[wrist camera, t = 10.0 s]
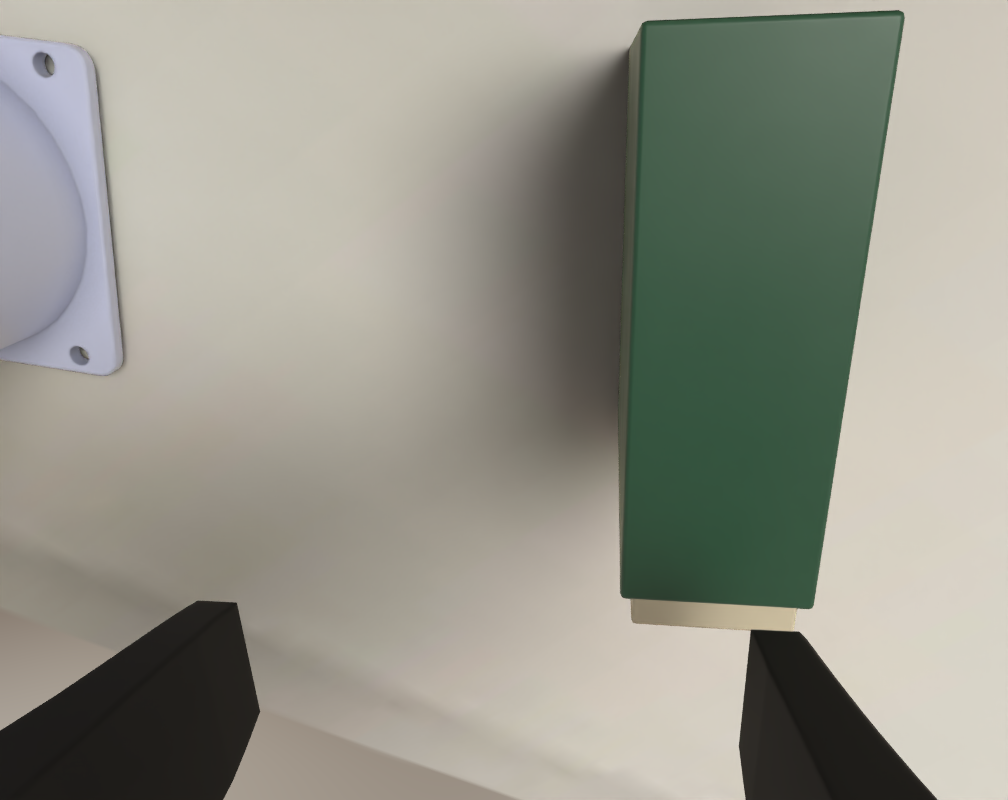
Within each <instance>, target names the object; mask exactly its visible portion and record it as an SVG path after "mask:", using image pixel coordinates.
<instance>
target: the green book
mask: <svg viewBox="0 0 1008 800" xmlns="http://www.w3.org/2000/svg"><path fill="white" fill-rule="evenodd" d="M904 19H905V17H904V13H903V12H901V11H899V10H895V11H871V12H847V13H823V14H799V15H775V16H752V17H728V18H704V19H680V20H656V21H646V22H644V23H642V25H641V27H640V29H639V31H638V33H637V35H636V37H635V39H634V41H633V43H632V45H631V47H630V49H629V72H628V104H627V137H626V170H625V202H624V235H623V267H622V300H621V333H620V365H619V398H618V447H619V528H620V593H621V596H622V597H623V598H627V599H631V619H632V621H633V623H637V624H653V625H669V626H685V627H702V628H718V629H734V630H750V631H751V629H755V630H774V631H793V630H794V625H795V618H796V611H797V608H800V609H811V608H812V607H813V605H814V599H815V593H816V586H817V580H818V573H819V567H820V560H821V554H822V548H823V541H824V535H825V528H826V522H827V515H828V509H829V502H830V496H831V490H832V483H833V477H834V470H835V464H836V457H837V451H838V444H839V438H840V432H841V425H842V419H843V412H844V406H845V399H846V393H847V386H848V380H849V374H850V367H851V361H852V354H853V348H854V341H855V335H856V328H857V322H858V315H859V309H860V303H861V296H862V290H863V283H864V277H865V270H866V264H867V257H868V251H869V245H870V238H871V232H872V225H873V219H874V212H875V206H876V199H877V193H878V187H879V180H880V174H881V167H882V161H883V154H884V148H885V141H886V135H887V129H888V122H889V116H890V109H891V103H892V96H893V90H894V83H895V77H896V71H897V64H898V58H899V51H900V45H901V38H902V32H903V25H904Z"/></svg>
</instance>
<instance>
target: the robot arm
mask: <svg viewBox="0 0 1008 800" xmlns="http://www.w3.org/2000/svg"><path fill="white" fill-rule="evenodd" d="M47 55H49V56H50V57H51V58H52V59H53V62H54V65H55V69H54V73H53V74H52V75H51V74H50V73H49V72H48V71H47V70H46V67H45V57H46V56H47ZM80 347H81V348H83V349H84V350H85V351H86V352H87V354H88V356H89V360H88V359H85V358H84V357H83V356H82V355H81V353H80V350H79V348H80ZM0 360H4V361H11V362H17V363H23V364H30V365H36V366H42V367H49V368H55V369H61V370H67V371H74V372H80V373H86V374H93V375H99V376H106V375H109V374H111V373H113V372H114V371H116V370H118V369H119V368H120V367H121V365H122V364H123V349H122V339H121V329H120V319H119V308H118V298H117V288H116V278H115V267H114V257H113V247H112V236H111V226H110V216H109V206H108V195H107V185H106V175H105V165H104V154H103V144H102V134H101V124H100V113H99V103H98V93H97V83H96V72H95V67H94V63H93V60H92V59H91V57H90V56H89V54H88V52H86V51H85V50H84V49H83V48H82V47H80V46H78V45H75V44H72V43H64V42H55V41H47V40H39V39H31V38H23V37H15V36H6V35H0ZM259 713H260V709H259V704H258V700H257V695H256V690H255V686H254V681H253V676H252V672H251V667H250V662H249V658H248V653H247V648H246V644H245V639H244V634H243V630H242V625H241V620H240V616H239V611H238V606H237V603H233V602H213V601H196V602H195V603H193V604H191V605H190V606H188V607H186V608H185V609H183V610H181V611H180V612H178V613H177V614H175V615H174V616H172V617H171V618H169V619H168V620H166V621H165V622H163V623H162V624H160V625H159V626H157V627H156V628H154V629H153V630H151V631H150V632H148V633H147V634H145V635H144V636H142V637H141V638H140V639H138V640H137V641H135V642H134V643H132V644H131V645H129V646H128V647H126V648H125V649H124V650H122V651H121V652H119V653H118V654H116V655H115V656H113V657H112V658H110V659H109V660H107V661H106V662H105V663H103V664H102V665H100V666H99V667H97V668H96V669H95V670H93V671H91V672H90V673H88V674H87V675H86V676H84V677H82V678H81V679H79V680H78V681H76V682H75V683H74V684H72V685H71V686H69V687H68V688H66V689H65V690H63V691H62V692H60V693H59V694H57V695H56V696H54V697H53V698H51V699H50V700H48V701H46V702H45V703H43V704H42V705H40V706H39V707H37V708H35V709H34V710H32V711H31V712H29V713H27V714H26V715H24V716H23V717H21V718H20V719H18V720H16V721H15V722H13V723H12V724H10V725H9V726H7V727H5V728H4V729H2V730H1V731H0V800H223V799H224V797H225V795H226V793H227V791H228V789H229V787H230V785H231V783H232V781H233V779H234V777H235V774H236V772H237V769H238V767H239V765H240V762H241V759H242V757H243V755H244V752H245V750H246V747H247V745H248V742H249V739H250V737H251V734H252V731H253V729H254V726H255V723H256V721H257V718H258V715H259ZM739 750H740V758H741V766H742V774H743V782H744V790H745V797H746V800H937V799H936V797H935V796H934V795H933V794H932V793H931V792H930V791H929V790H928V788H927V787H926V786H925V785H924V784H923V783H922V782H921V781H920V780H919V778H918V777H917V776H916V775H915V774H914V773H913V772H912V770H911V769H910V768H909V767H908V766H907V765H906V763H905V762H904V761H903V760H902V759H901V757H900V756H899V755H898V754H897V753H896V752H895V750H894V749H893V748H892V747H891V746H890V745H889V743H888V742H887V741H886V740H885V739H884V738H883V736H882V735H881V734H880V733H879V732H878V730H877V729H876V728H875V727H874V726H873V724H872V723H871V722H870V721H869V719H868V718H867V717H866V716H865V715H864V713H863V712H862V711H861V710H860V708H859V707H858V706H857V704H856V703H855V702H854V701H853V699H852V698H851V697H850V696H849V694H848V693H847V692H846V691H845V689H844V688H843V687H842V685H841V684H840V683H839V682H838V680H837V679H836V678H835V676H834V675H833V674H832V672H831V671H830V670H829V668H828V667H827V666H826V664H825V663H824V662H823V660H822V659H821V658H820V656H819V655H818V654H817V652H816V651H815V650H814V648H813V647H812V646H811V644H810V643H809V642H808V640H807V639H806V638H805V637H804V636H803V635H802V634H801V633H800V632H794V631H774V630H755V629H751V635H750V644H749V654H748V664H747V673H746V683H745V693H744V702H743V712H742V722H741V731H740V741H739Z"/></svg>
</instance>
